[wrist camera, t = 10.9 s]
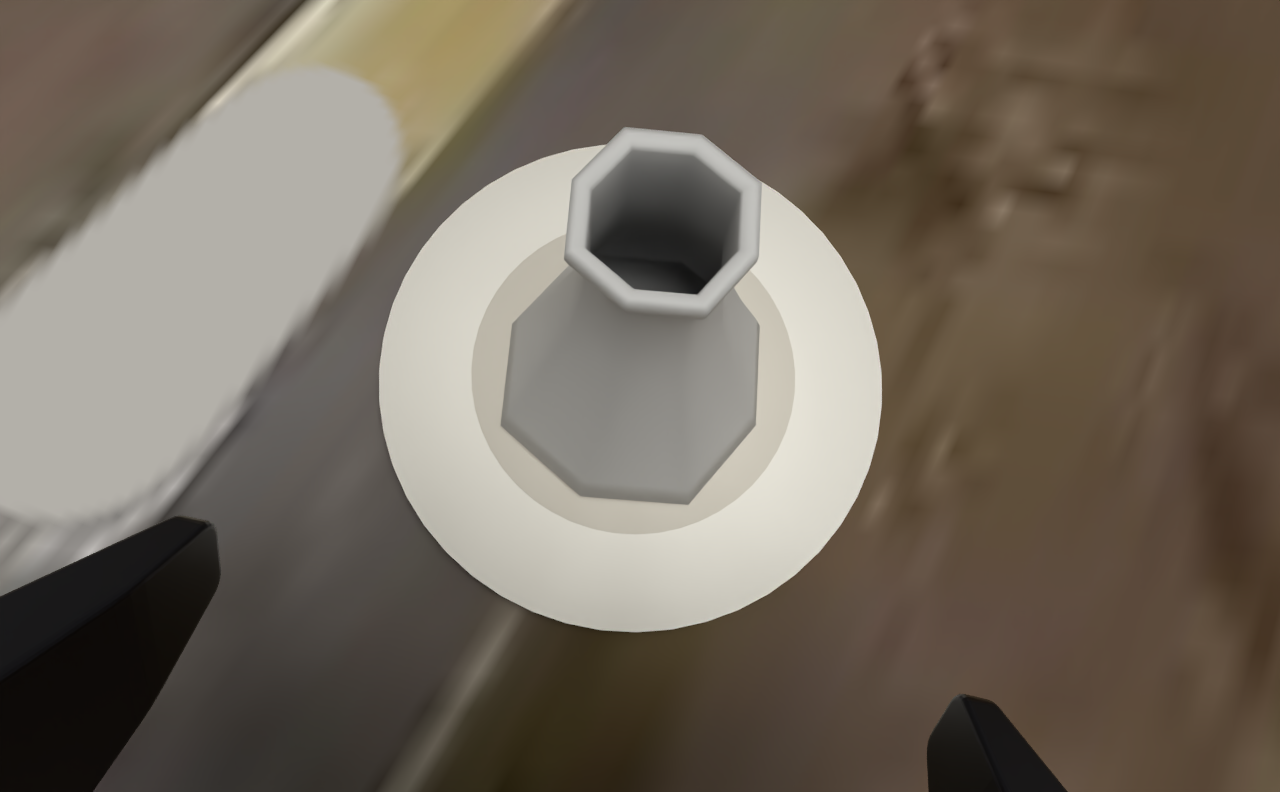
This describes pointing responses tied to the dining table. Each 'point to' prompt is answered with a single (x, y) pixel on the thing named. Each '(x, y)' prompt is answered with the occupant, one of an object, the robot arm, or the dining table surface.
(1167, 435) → the dining table surface
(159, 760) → the dining table surface
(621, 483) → the flask
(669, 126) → the dining table surface
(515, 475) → the ceramic plate
